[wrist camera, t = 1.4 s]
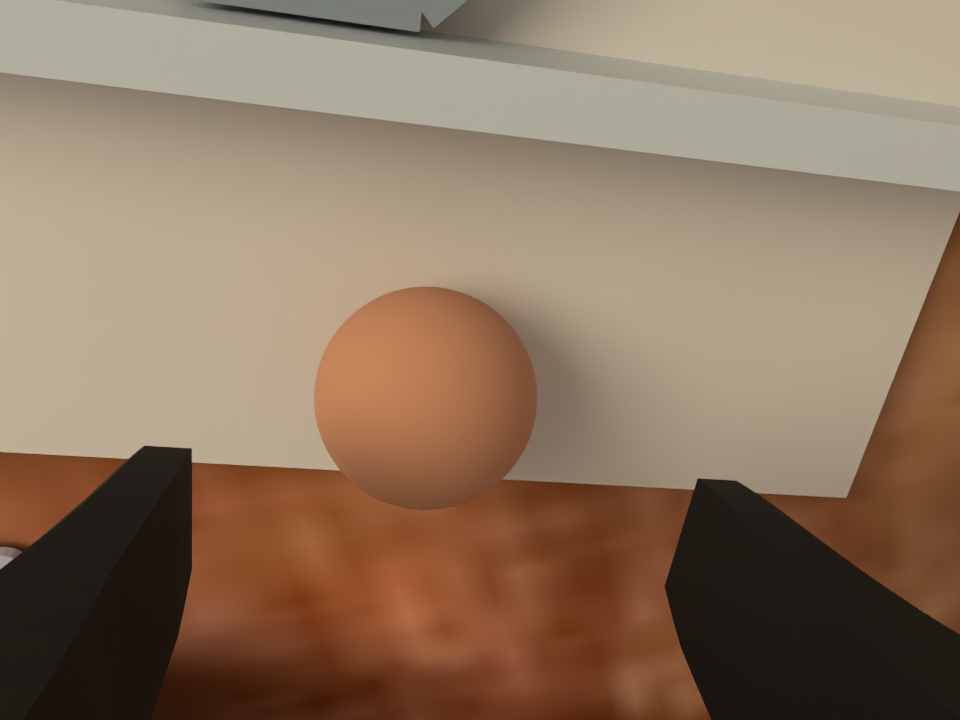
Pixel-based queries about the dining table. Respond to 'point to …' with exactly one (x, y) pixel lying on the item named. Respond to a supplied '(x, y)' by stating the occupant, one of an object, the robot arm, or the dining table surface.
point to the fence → (480, 86)
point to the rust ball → (425, 398)
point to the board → (477, 257)
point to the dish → (360, 10)
